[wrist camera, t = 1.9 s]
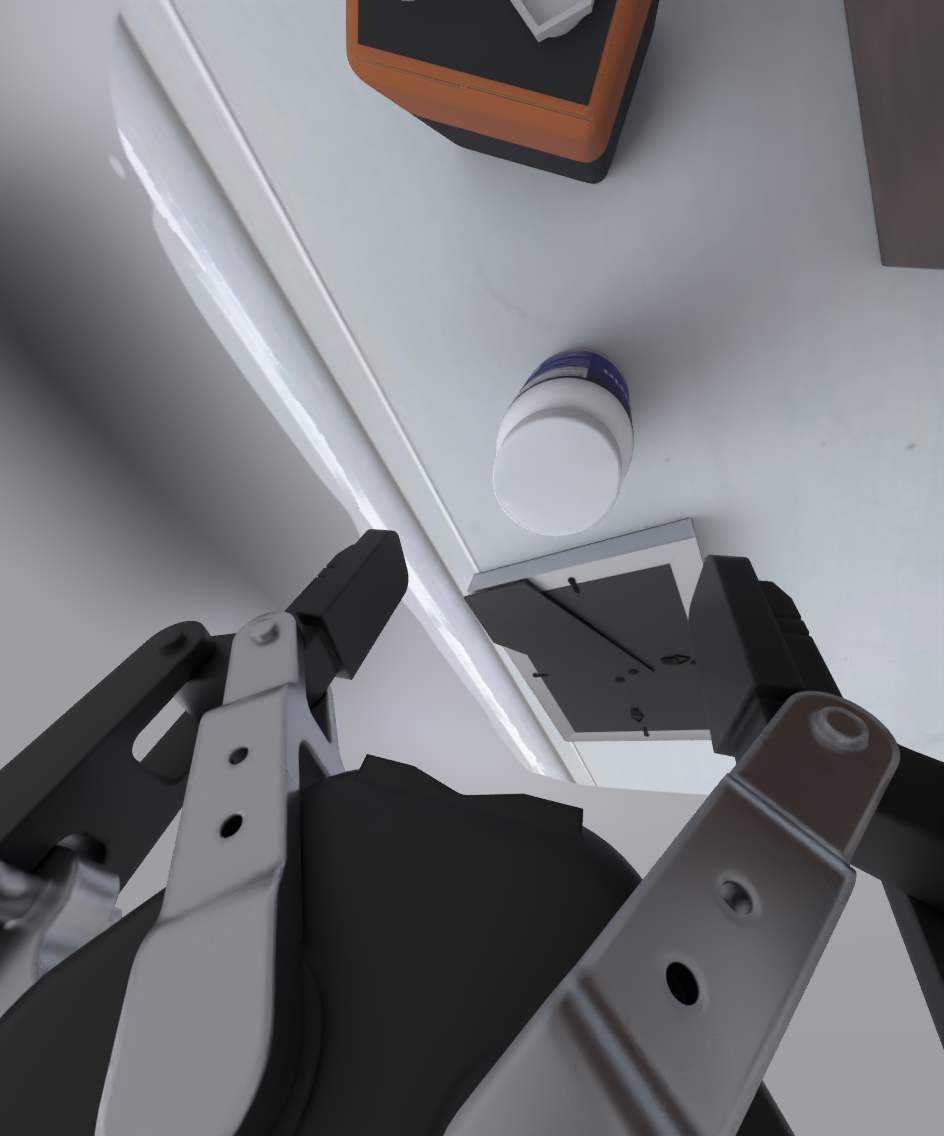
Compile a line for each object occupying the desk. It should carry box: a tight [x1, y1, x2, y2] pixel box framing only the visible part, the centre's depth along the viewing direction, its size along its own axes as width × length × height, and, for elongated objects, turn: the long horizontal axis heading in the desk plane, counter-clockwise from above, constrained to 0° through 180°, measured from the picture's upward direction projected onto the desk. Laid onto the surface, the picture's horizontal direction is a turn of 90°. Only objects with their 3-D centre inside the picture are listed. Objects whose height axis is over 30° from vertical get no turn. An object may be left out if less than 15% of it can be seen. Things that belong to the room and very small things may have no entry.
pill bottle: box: [492, 349, 634, 536], centre depth 18 cm, size 6×6×10 cm
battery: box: [346, 0, 659, 184], centre depth 11 cm, size 4×7×10 cm, turn 77°
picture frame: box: [464, 518, 711, 742], centre depth 31 cm, size 16×3×21 cm
